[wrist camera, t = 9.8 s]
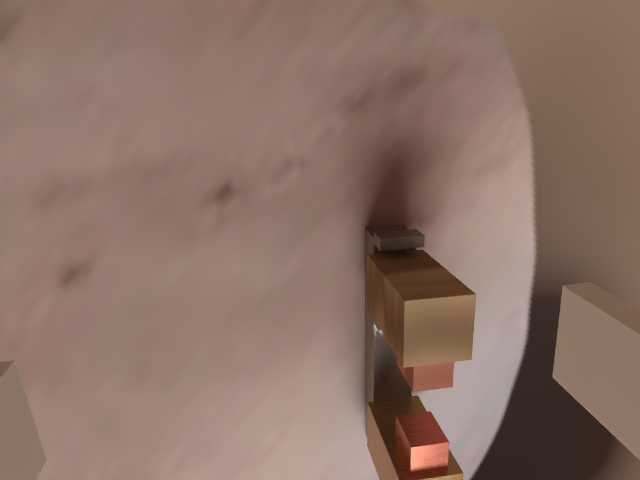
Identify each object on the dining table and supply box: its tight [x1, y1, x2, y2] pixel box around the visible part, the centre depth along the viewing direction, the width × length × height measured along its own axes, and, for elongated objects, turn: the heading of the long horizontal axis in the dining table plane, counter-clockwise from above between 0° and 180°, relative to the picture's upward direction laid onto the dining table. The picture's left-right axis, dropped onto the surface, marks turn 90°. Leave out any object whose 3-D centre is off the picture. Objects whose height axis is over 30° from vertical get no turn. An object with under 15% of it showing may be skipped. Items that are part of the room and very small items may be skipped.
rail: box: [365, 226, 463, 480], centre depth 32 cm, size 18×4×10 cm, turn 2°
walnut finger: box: [367, 250, 476, 392], centre depth 30 cm, size 6×4×8 cm, turn 2°
